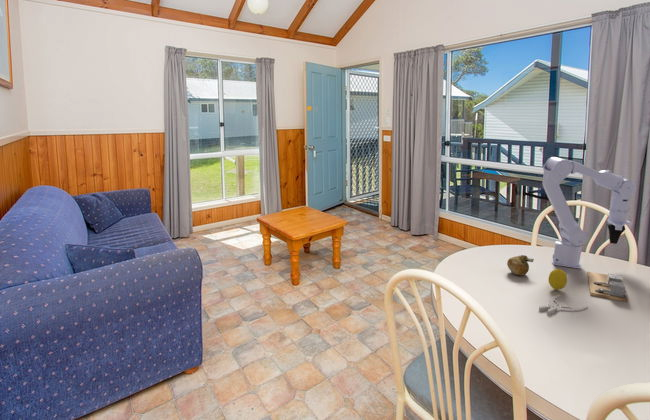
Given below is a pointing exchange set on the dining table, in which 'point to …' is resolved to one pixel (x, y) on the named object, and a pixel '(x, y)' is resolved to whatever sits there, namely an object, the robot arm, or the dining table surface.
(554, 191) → the robot arm
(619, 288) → the fixed leg
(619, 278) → the sliding leg
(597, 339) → the dining table surface
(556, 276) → the lemon
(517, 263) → the onion
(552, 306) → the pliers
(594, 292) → the gauge board
